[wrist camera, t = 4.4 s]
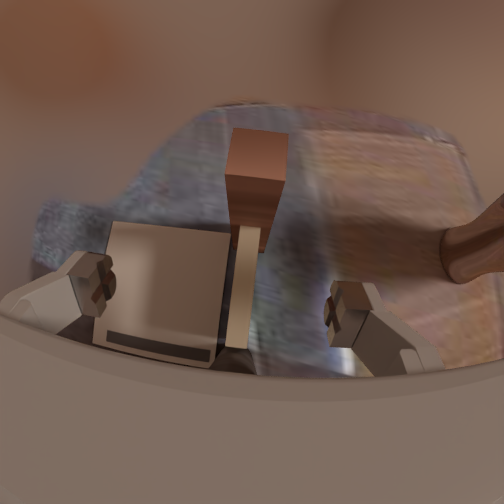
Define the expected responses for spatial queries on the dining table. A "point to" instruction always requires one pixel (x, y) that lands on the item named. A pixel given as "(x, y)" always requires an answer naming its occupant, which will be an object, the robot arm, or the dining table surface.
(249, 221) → the fence gate
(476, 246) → the beer glass
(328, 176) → the dining table surface
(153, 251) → the card
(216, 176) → the dining table surface
